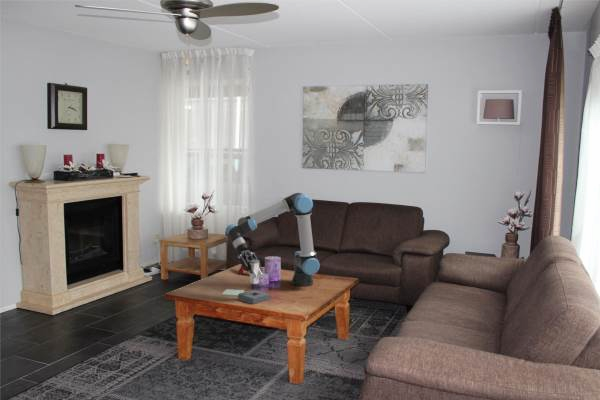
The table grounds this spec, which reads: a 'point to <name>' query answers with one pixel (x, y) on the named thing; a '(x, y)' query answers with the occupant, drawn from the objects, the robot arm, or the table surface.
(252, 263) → the plug
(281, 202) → the robot arm
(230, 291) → the pad
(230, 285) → the table surface
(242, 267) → the decorative bird sculpture
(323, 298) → the table surface
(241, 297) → the grey square socket block
